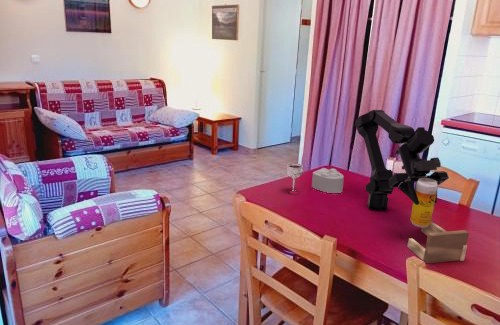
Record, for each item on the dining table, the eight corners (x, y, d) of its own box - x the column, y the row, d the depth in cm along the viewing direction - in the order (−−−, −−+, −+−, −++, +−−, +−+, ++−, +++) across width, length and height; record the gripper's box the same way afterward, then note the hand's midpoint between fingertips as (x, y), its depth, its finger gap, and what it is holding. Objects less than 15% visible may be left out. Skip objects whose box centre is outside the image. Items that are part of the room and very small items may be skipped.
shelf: (391, 233, 130) (395, 209, 127) (424, 230, 132) (428, 207, 130) (427, 264, 112) (432, 236, 109) (464, 260, 115) (470, 233, 112)
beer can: (421, 229, 121) (429, 185, 116) (405, 221, 126) (413, 178, 121) (434, 226, 123) (442, 182, 119) (418, 218, 129) (426, 176, 124)
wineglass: (282, 190, 165) (283, 164, 161) (295, 188, 168) (297, 162, 164) (290, 196, 159) (292, 168, 156) (304, 194, 162) (306, 167, 158)
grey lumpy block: (321, 182, 176) (323, 164, 173) (347, 190, 168) (349, 171, 165) (308, 188, 168) (310, 169, 166) (335, 196, 160) (337, 177, 158)
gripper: (398, 149, 119) (414, 195, 112) (450, 147, 123) (469, 192, 116) (381, 165, 129) (395, 209, 122) (430, 163, 132) (446, 205, 126)
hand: (426, 203), depth 121 cm, fingers closed on beer can, 6 cm apart
